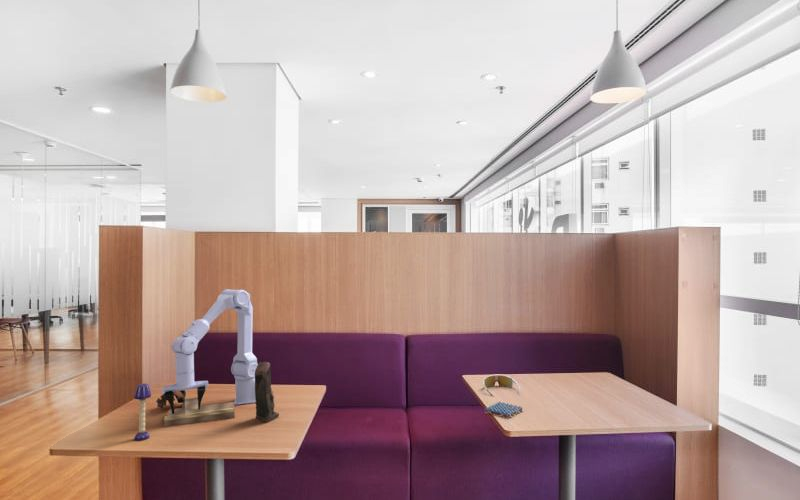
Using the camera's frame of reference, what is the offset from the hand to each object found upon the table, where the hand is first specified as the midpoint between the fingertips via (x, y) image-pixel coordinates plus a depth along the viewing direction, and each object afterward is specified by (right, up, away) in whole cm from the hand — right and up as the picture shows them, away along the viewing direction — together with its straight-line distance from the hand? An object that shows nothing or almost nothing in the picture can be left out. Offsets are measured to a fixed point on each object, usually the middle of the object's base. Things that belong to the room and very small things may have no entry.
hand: (185, 410), depth 159 cm
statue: (+27, -3, 0) cm, 28 cm away
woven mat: (+110, -2, +3) cm, 111 cm away
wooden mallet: (+1, -1, +3) cm, 3 cm away
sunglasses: (+115, -2, +28) cm, 119 cm away
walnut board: (+4, -3, +4) cm, 6 cm away
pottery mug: (-11, -4, +14) cm, 18 cm away
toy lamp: (-7, -4, -15) cm, 16 cm away
